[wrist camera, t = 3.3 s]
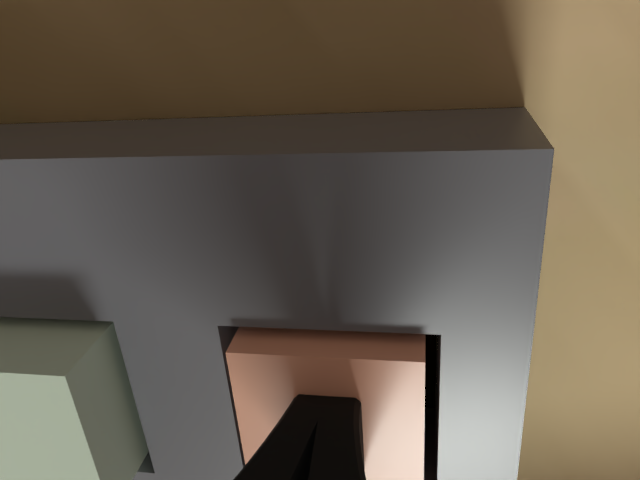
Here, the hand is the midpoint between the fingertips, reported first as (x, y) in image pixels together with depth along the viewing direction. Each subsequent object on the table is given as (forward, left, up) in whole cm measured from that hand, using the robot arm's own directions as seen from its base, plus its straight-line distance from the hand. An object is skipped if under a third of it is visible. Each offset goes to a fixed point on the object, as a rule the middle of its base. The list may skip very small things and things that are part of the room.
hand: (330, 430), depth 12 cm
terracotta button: (0, 0, -3) cm, 3 cm away
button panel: (-7, 0, -3) cm, 8 cm away
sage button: (-7, 0, -2) cm, 7 cm away
